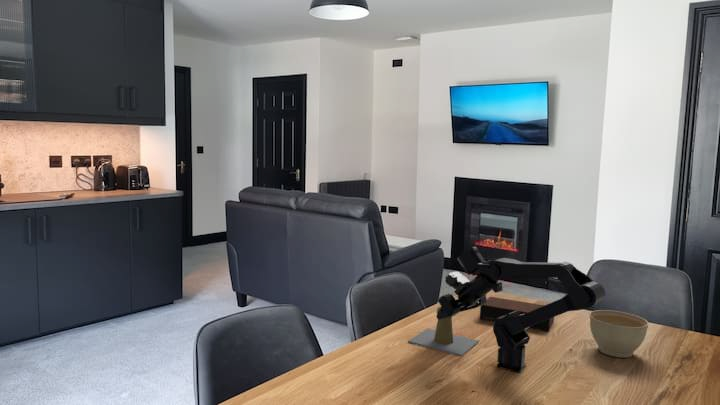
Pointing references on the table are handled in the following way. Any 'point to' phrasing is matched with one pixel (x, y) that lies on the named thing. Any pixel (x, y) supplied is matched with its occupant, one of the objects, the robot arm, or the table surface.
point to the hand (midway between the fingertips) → (446, 314)
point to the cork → (444, 330)
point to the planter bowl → (617, 332)
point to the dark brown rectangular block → (504, 306)
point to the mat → (457, 347)
